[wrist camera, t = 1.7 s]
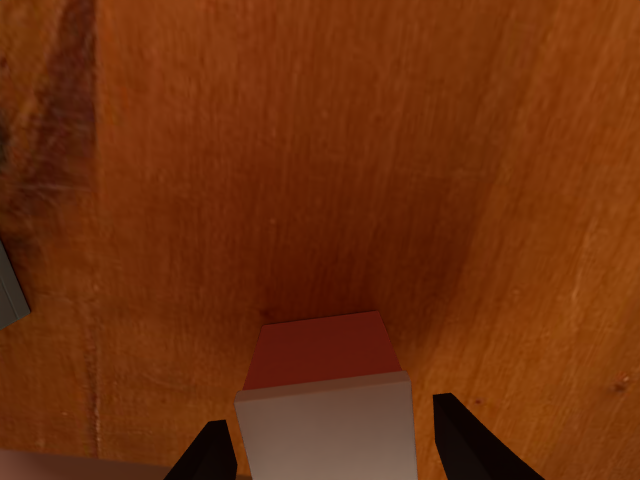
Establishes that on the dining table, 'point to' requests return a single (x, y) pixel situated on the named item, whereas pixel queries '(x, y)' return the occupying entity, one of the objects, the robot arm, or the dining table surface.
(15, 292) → the shallow rectangular tray
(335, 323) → the two-tone cube
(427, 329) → the dining table surface
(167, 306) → the dining table surface
